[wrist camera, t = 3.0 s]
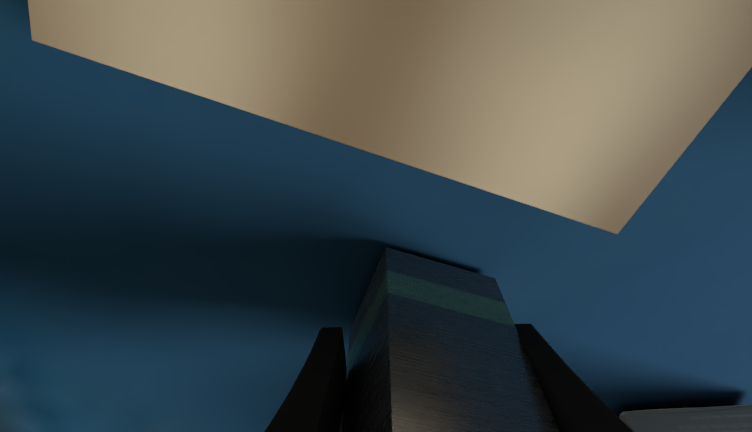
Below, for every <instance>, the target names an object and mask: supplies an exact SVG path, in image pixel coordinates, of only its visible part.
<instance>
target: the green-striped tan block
mask: <svg viewBox="0 0 752 432" xmlns="http://www.w3.org/2000/svg"><path fill="white" fill-rule="evenodd" d="M28 6H29V16H30V25H31V35H32V40H33V41H36V42H39V43H42V44H45V45H48V46H51V47H54V48H57V49H60V50H63V51H66V52H69V53H72V54H75V55H78V56H81V57H84V58H87V59H90V60H93V61H96V62H99V63H102V64H105V65H108V66H112V67H115V68H118V69H121V70H124V71H127V72H130V73H133V74H136V75H139V76H142V77H145V78H148V79H151V80H154V81H157V82H160V83H163V84H166V85H169V86H172V87H175V88H178V89H181V90H184V91H187V92H190V93H193V94H196V95H199V96H202V97H205V98H208V99H211V100H214V101H217V102H220V103H223V104H226V105H229V106H232V107H235V108H238V109H241V110H244V111H247V112H250V113H253V114H256V115H259V116H262V117H265V118H268V119H271V120H274V121H277V122H280V123H283V124H286V125H289V126H292V127H295V128H298V129H301V130H304V131H307V132H310V133H313V134H317V135H320V136H323V137H326V138H329V139H332V140H335V141H338V142H341V143H344V144H347V145H350V146H353V147H356V148H359V149H362V150H365V151H368V152H371V153H374V154H377V155H380V156H383V157H386V158H389V159H392V160H395V161H398V162H401V163H404V164H407V165H410V166H413V167H416V168H419V169H422V170H425V171H428V172H431V173H434V174H437V175H440V176H443V177H446V178H449V179H452V180H455V181H458V182H461V183H464V184H467V185H470V186H473V187H476V188H479V189H482V190H485V191H488V192H491V193H494V194H497V195H500V196H503V197H506V198H509V199H512V200H515V201H518V202H521V203H525V204H528V205H531V206H534V207H537V208H540V209H543V210H546V211H549V212H552V213H555V214H558V215H561V216H564V217H567V218H570V219H573V220H576V221H579V222H582V223H585V224H588V225H591V226H594V227H597V228H600V229H603V230H606V231H609V232H612V233H615V234H618V233H619V232H620V230H621V229H622V228H623V227H624V225H625V224H626V223H627V222H628V220H629V219H630V218H631V217H632V215H633V214H634V213H635V212H636V210H637V209H638V208H639V207H640V205H641V204H642V203H643V202H644V200H645V199H646V198H647V197H648V195H649V194H650V193H651V192H652V190H653V189H654V188H655V187H656V186H657V184H658V183H659V182H660V181H661V179H662V178H663V177H664V176H665V174H666V173H667V172H668V171H669V169H670V168H671V167H672V166H673V164H674V163H675V162H676V161H677V159H678V158H679V157H680V156H681V154H682V153H683V152H684V151H685V149H686V148H687V147H688V146H689V144H690V143H691V142H692V141H693V139H694V138H695V137H696V136H697V134H698V133H699V132H700V131H701V129H702V128H703V127H704V126H705V124H706V123H707V122H708V121H709V120H710V118H711V117H712V116H713V115H714V113H715V112H716V111H717V110H718V108H719V107H720V106H721V105H722V103H723V102H724V101H725V100H726V98H727V97H728V96H729V95H730V93H731V92H732V91H733V90H734V88H735V87H736V86H737V85H738V83H739V82H740V81H741V80H742V78H743V77H744V76H745V75H746V73H747V72H748V71H749V70H750V68H751V67H752V0H28Z"/></svg>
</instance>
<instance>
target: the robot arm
mask: <svg viewBox="0 0 752 432" xmlns="http://www.w3.org/2000/svg"><path fill="white" fill-rule="evenodd" d="M514 325H515V327H516V330H517V332H518V337H519V339H520V341H521V344H522V346H523V348H524V350H525V352H526V354H527V356H528V358H529V360H530V363H531V365H532V368H533V370H534V372H535V375H536V377H537V379H538V382H539V384H540V387H541V389H542V391H543V394H544V396H545V399H546V401H547V403H548V406H549V408H550V410H551V413H552V415H553V418H554V420H555V422H556V425H557V427H558V429H559V432H634V431H633V430H632V429H631V428H629V427H628V426H627V425H626V424H625V423H624V422H623V421H622V420H621V419H620V418H619V417H618V416H617V415H616V414H614V413H613V412H612V411H611V410H610V409H609V408H608V407H607V406H606V405H605V404H604V403H603V402H602V401H601V400H600V399H599V398H598V397H597V396H596V395H595V394H594V393H593V392H592V391H591V390H590V389H589V388H588V387H587V386H586V384H585V383H584V382H583V381H582V380H581V379H580V378H579V377H578V376H577V375H576V374H575V373H574V372H573V371H572V370H571V369H570V367H569V366H568V365H567V364H566V363H565V362H564V361H563V360H562V359H561V358H560V356H559V355H558V354H557V353H556V352H555V351H554V350H553V349H552V347H551V346H550V345H549V344H548V343H547V342H546V341H545V339H544V338H543V337H542V336H541V335H540V334H539V332H538V331H537V330H536V329H535V328H534V327H533V326H532V325H531V324H514ZM346 374H347V369H346V359H345V350H344V340H343V331H342V327H330V328H322V329H321V330H320V331H319V333H318V336H317V339H316V341H315V343H314V346H313V348H312V350H311V352H310V354H309V356H308V358H307V360H306V362H305V364H304V366H303V368H302V370H301V372H300V374H299V376H298V378H297V379H296V381H295V383H294V385H293V387H292V389H291V390H290V392H289V394H288V395H287V397H286V399H285V400H284V402H283V404H282V405H281V407H280V408H279V410H278V412H277V413H276V415H275V417H274V418H273V420H272V421H271V423H270V424H269V426H268V427H267V429H266V430H265V432H341V428H342V421H343V409H344V401H345V390H346Z"/></svg>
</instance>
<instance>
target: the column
mask: <svg viewBox="0 0 752 432" xmlns="http://www.w3.org/2000/svg"><path fill="white" fill-rule="evenodd" d="M342 432H559V429H558V427H557V425H556V422H555V420H554V418H553V415H552V413H551V410H550V408H549V406H548V403H547V401H546V399H545V396H544V394H543V391H542V389H541V387H540V384H539V382H538V379H537V377H536V375H535V372H534V370H533V368H532V365H531V363H530V360H529V358H528V356H527V354H526V352H525V350H524V348H523V346H522V344H521V341H520V339H519V337H518V332H517V330H516V327H515V325H514V322H513V320H512V318H511V315H510V313H509V310H508V308H507V306H506V303H505V301H504V299H503V296H502V294H501V291H500V289H499V287H498V284H497V282H496V280H495V278H492V277H488V276H485V275H481V274H478V273H474V272H471V271H467V270H464V269H460V268H457V267H453V266H450V265H447V264H443V263H440V262H436V261H433V260H429V259H426V258H422V257H419V256H415V255H412V254H408V253H405V252H401V251H398V250H395V249H391V248H388V247H386V248H385V251H384V253H383V255H382V257H381V260H380V262H379V264H378V267H377V269H376V271H375V273H374V276H373V278H372V280H371V283H370V285H369V287H368V289H367V292H366V294H365V296H364V299H363V301H362V303H361V305H360V308H359V310H358V312H357V315H356V317H355V319H354V321H353V324H352V326H351V328H350V337H349V349H348V361H347V374H346V390H345V401H344V409H343V421H342Z"/></svg>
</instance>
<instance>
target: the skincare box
mask: <svg viewBox="0 0 752 432" xmlns="http://www.w3.org/2000/svg"><path fill="white" fill-rule="evenodd" d="M619 418H620V419H621V420H622V421H623V422H624V423H625V424H626V425H627V426H628V427H629V428H631V429H632V430H633V431H634V432H752V405H733V406H716V407H698V408H670V409H651V410H637V411H626V412H622V413H620V415H619Z"/></svg>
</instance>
